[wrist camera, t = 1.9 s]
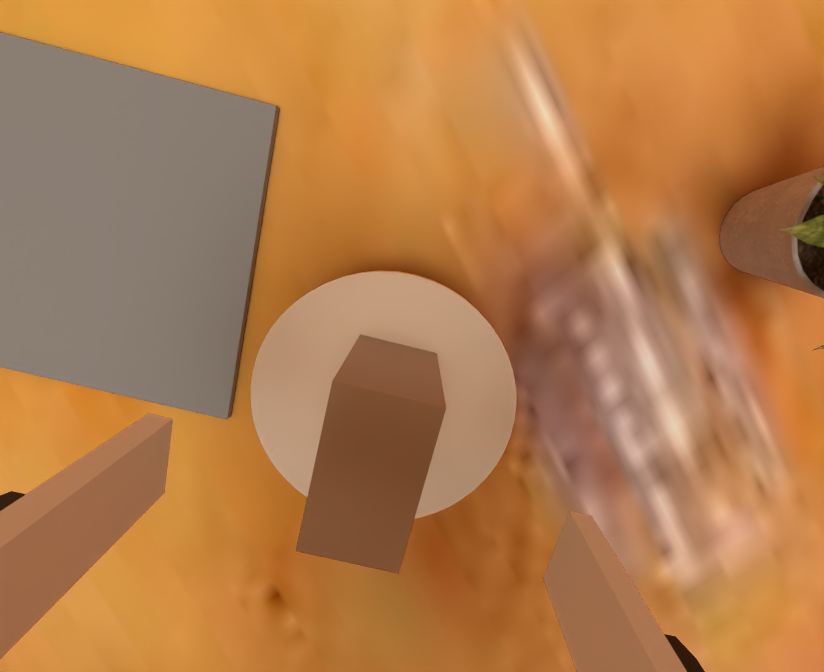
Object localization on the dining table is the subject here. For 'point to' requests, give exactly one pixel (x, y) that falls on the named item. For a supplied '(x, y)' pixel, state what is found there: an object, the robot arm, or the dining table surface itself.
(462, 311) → the lid
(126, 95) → the mat
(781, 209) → the house plant
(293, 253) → the dining table surface
